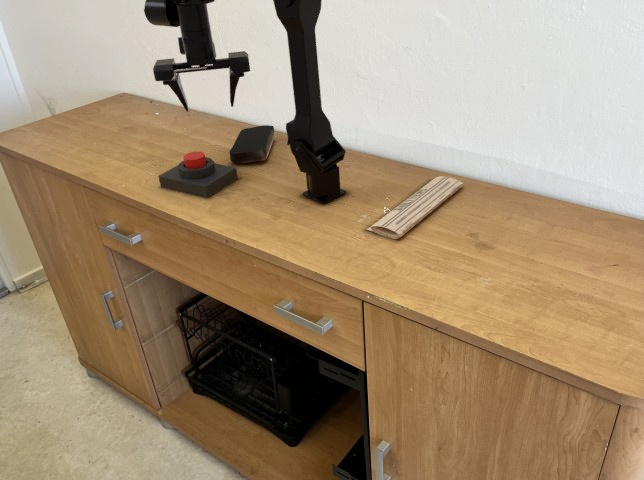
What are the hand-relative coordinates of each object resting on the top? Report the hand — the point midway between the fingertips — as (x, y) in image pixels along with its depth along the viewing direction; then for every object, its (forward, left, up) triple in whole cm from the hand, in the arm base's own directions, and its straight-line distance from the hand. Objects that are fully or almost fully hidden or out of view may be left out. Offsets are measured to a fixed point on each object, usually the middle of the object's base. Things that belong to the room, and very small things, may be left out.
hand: (210, 108), depth 128 cm
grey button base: (-2, +7, -14) cm, 16 cm away
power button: (-2, +7, -10) cm, 12 cm away
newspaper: (-45, -13, -14) cm, 49 cm away
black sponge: (+2, -11, -14) cm, 18 cm away
